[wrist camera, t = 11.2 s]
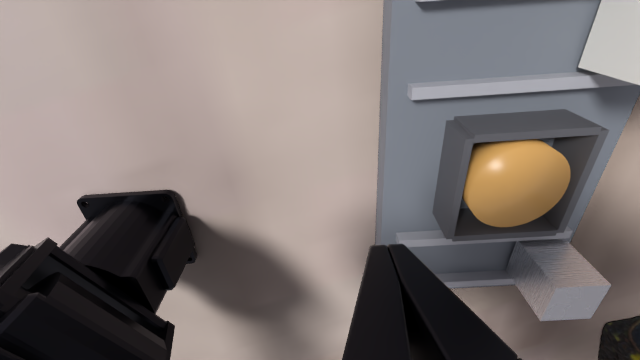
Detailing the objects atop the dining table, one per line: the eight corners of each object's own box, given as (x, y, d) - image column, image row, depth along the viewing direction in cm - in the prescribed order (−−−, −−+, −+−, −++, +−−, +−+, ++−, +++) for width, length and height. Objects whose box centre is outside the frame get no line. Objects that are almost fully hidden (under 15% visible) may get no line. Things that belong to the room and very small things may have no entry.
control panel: (374, 272, 26) (384, 322, 22) (393, -282, 11) (435, -429, 7) (535, 263, 25) (574, 312, 21) (774, -320, 11) (1031, -494, 7)
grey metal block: (505, 270, 22) (540, 321, 19) (516, 239, 21) (556, 287, 17) (548, 268, 22) (590, 318, 19) (562, 236, 21) (611, 284, 17)
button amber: (448, 208, 19) (461, 229, 17) (462, 133, 17) (479, 149, 15) (530, 203, 19) (552, 224, 17) (557, 126, 16) (586, 142, 15)
